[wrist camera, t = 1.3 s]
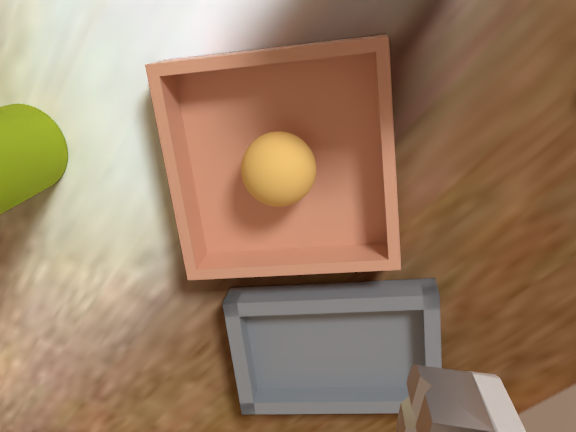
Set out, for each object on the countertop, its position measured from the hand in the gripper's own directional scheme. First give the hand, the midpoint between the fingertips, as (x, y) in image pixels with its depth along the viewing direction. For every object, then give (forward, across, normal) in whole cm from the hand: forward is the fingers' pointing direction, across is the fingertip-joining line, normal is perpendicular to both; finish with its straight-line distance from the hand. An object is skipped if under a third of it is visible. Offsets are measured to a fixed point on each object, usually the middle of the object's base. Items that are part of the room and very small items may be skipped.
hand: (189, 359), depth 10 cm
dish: (+25, 0, +3) cm, 25 cm away
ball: (+22, 0, +3) cm, 23 cm away
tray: (+25, -6, +15) cm, 30 cm away
